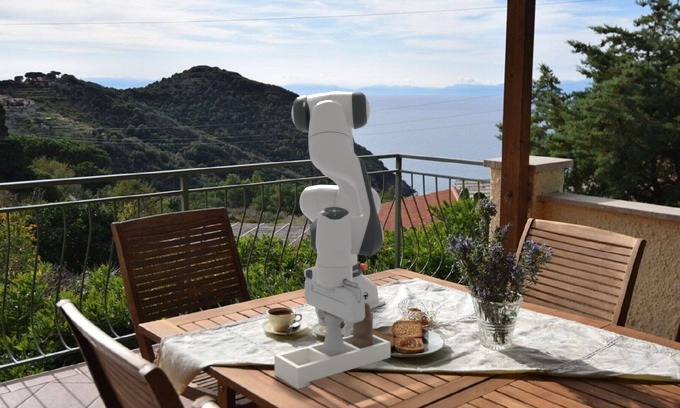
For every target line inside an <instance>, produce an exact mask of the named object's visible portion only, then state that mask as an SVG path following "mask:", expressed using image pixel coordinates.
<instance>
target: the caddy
mask: <svg viewBox="0 0 680 408" xmlns="http://www.w3.org/2000/svg"><path fill="white" fill-rule="evenodd" d="M342 338H343V343H344V348H345V353H343V354H340V355H336V356H333V357H329V356H328V355H326V354H324V353H322V351H323V346H324V341H323V342H320V343H315V344H313V345H307V346H305V347H300V348H297V349H292V350H288V351H285V352H281V353H277V354H274V355H273V356H274V376H276V377H277V378H279V379H281V380H283V381H284V382H286V384H289V385H290V386H292V387H293V388H295V389H297V390H299V389H302V388H303V389H304V388H305V387H306V388H307V387H309V386H310V387H311V386H312V385H314V384H313V383H311V382H313V381H315V380H320V379H323V378H324V379H325V378H327V377H329V376H330V377H331V376H333V375H336V374H339V373H343V372H346V371H350V370H352V369H357V368H360V367H363V366H367V365H369V364H373V363H376V362H380V361H383V360H387V359H389V358H391V348H392V346H391V344H392V343H391V341H388V339H387V340H386V339H384V338H382V337H380V336H377V335H375V334H373V345H372V346H368V347H365V348H361V349H360V348H357V347H355V346H353V334H351V335H350V336H348V337H345V336H342Z"/></svg>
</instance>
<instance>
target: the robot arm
mask: <svg viewBox="0 0 680 408" xmlns="http://www.w3.org/2000/svg"><path fill="white" fill-rule="evenodd" d="M290 113H291V119H292V122H293V124H294V127H295V128H296V129H297V130H298V131H300V132H302V133H308V136H307V137H308V138H307V139H308V153H309V158H310V161H311V162H312V165H314V167H315V168H317V170H319V171H320V172H321V174H322V175H324V177H327V178H329V179H330V180H331V181H333V182H334V183H335V185H333V184H316V185H310V186H307V187H305V188H304V189H303V190H302V192H301V193H300V197H299V208H300V210H301V212H302V214H303V215H304V216H305V217H306V218H307V219H308V220H310V221H311V224H310V225H309V233H310V244H309V247H310V249H312V251H314V252H315V253H316V254H317V257H316V260H315V266H313V267H308V268H305V269H304V270H303V276H304V278H305V281H304V299H305V302H306V304H307V305H309V306H311V307H314V309H315V315H316V316H317V318H318V320H317V322H318V325H319V326H321V327H327V324H328V323H326V322H325V315H326V313H330V314H332V315H335V316H337V317H340V318H342V319H343V324H344V326H343V327H342V328H341V335H342V337H348V336H350V335H352V334H351V331H352V329H353V324H354V323H356V322H360V321H363V319H364V318H365V304H364V302H365V303H367V304H369V306H370V308H371V310H372V309H376V308H377V307H379V306H384V305H386V300H385V299H384V298H383V297H381V296H379V290H378V287H377V284H376V283H375V282H373V281H372V280H371V279H369V278H368V277H367V276H365V275H364V274H363V273H362V271H367V270H368V265H367V263H360V262H358V255H359V256H368V257H371V256H373V255H375V254H376V253H377V252H378V251H379V250H380V249H381V248H382V247H383V244H384V238H385V237H384V229H383V226H382V224H381V220H380V218H379V213H380V210H381V206H382V203H381V197H380V196H379V193H378V192H377V190H375V188H373V187H372V186H371V185H372V184H371V182H370V177H369V174H368V170H367V168H366V165H365V162H364V160H363V158H361V157H359V156H358V155H357V154H356V153H355V149H354V138H353V137H354V135H353V130H358V129H360V128H364V127H365V126H366V125H367V124H368V122H369V121H368V120H369V119H370V114H371V106H370V103H369V101H368V98H367V96H366V95H365V94H364V93H363V92H360V91H352V92H351V91H329V92H322V93H321V92H320V93H316V94H315V93H314V94H311V95H310V94H309V95H308V94H304V95H301V96H298V97H296V98H295V100H294V101H293V104H292V108H291V112H290ZM361 270H362V271H361ZM325 312H326V313H325Z"/></svg>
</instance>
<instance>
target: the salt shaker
mask: <svg viewBox="0 0 680 408" xmlns="http://www.w3.org/2000/svg"><path fill="white" fill-rule="evenodd" d="M325 322H326V323H327V325H326V330H325V334H324V335H325V336H324V340H323V342H324V346H323V351H322V353H324V354H326V355H328V356H329V357H333V356H336V355H340V354H343V353H345V348H344V343H343V338H342V337H343V335H341V324H342V323H343V322H344V319H342V318H340V317H337V316H335V315H332V314H330V313H328V312H326V313H325Z"/></svg>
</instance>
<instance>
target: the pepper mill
mask: <svg viewBox="0 0 680 408" xmlns="http://www.w3.org/2000/svg"><path fill="white" fill-rule="evenodd" d="M364 304H365V318H364V319H363V321H360V322H356V323H354V324H353V326H352V335H353V346H355V347H357V348H360V349H361V348H365V347H368V346H372V345H373V335H374V334H373V332H374V331H373V329H374V326H373V325H374V319H373V318H374V314H373V312H372V309H371V308H370V306H369V304H367V303H365V302H364Z"/></svg>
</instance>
